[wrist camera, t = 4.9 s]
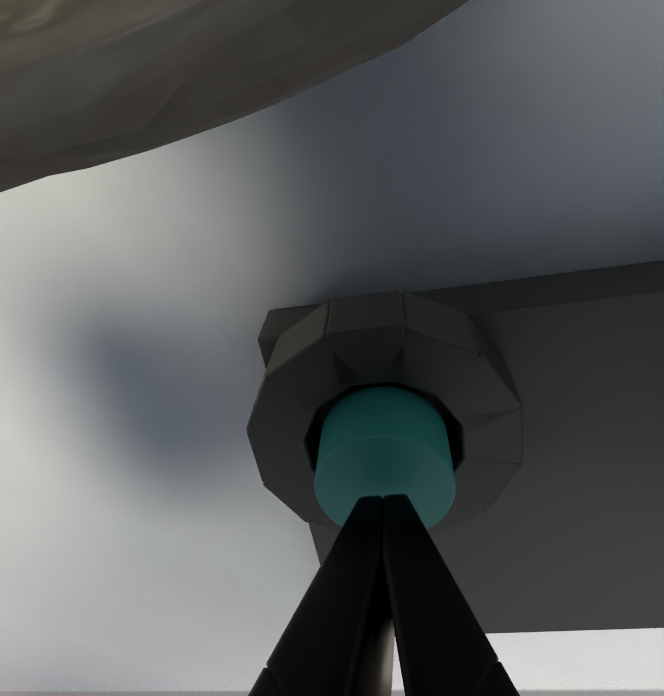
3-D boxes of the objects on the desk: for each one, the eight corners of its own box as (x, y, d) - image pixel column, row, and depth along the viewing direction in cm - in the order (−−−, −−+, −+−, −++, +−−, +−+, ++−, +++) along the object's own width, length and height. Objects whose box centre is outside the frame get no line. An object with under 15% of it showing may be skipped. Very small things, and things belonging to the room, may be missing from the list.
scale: (335, 599, 18) (328, 692, 16) (250, 283, 13) (217, 348, 10) (802, 578, 16) (883, 682, 14) (955, 187, 10) (1145, 237, 8)
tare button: (333, 487, 12) (327, 543, 11) (310, 392, 11) (301, 443, 9) (450, 478, 12) (460, 535, 10) (442, 379, 10) (451, 429, 9)
